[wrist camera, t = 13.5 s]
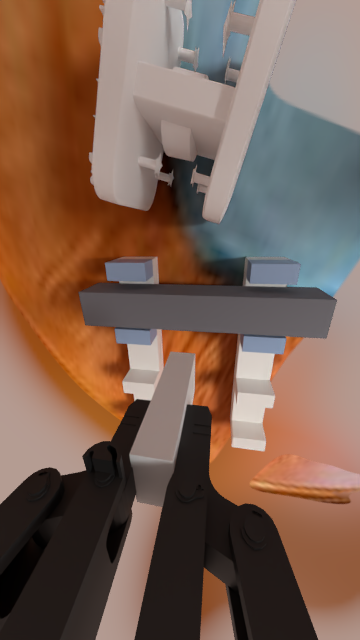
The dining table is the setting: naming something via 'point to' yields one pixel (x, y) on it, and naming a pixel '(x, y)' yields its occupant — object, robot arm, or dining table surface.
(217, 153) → the cable organizer
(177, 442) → the robot arm
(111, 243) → the dining table surface
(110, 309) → the dark gray bar
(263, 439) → the white notched holder
